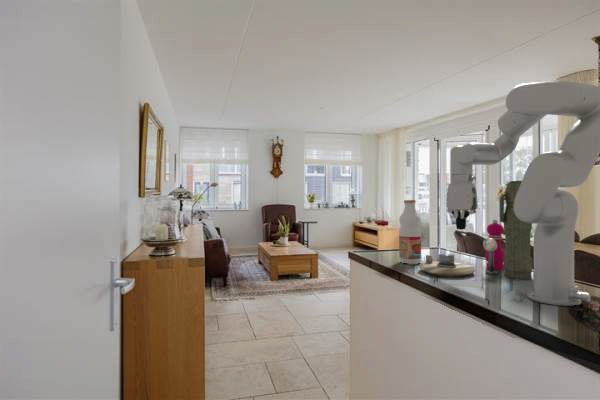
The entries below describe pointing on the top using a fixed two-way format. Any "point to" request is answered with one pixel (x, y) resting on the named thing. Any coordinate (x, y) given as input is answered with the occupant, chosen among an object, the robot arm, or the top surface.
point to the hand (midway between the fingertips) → (460, 229)
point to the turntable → (433, 268)
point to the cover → (446, 261)
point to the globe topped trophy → (490, 253)
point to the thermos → (515, 237)
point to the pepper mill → (495, 233)
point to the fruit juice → (410, 234)
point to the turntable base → (446, 275)
